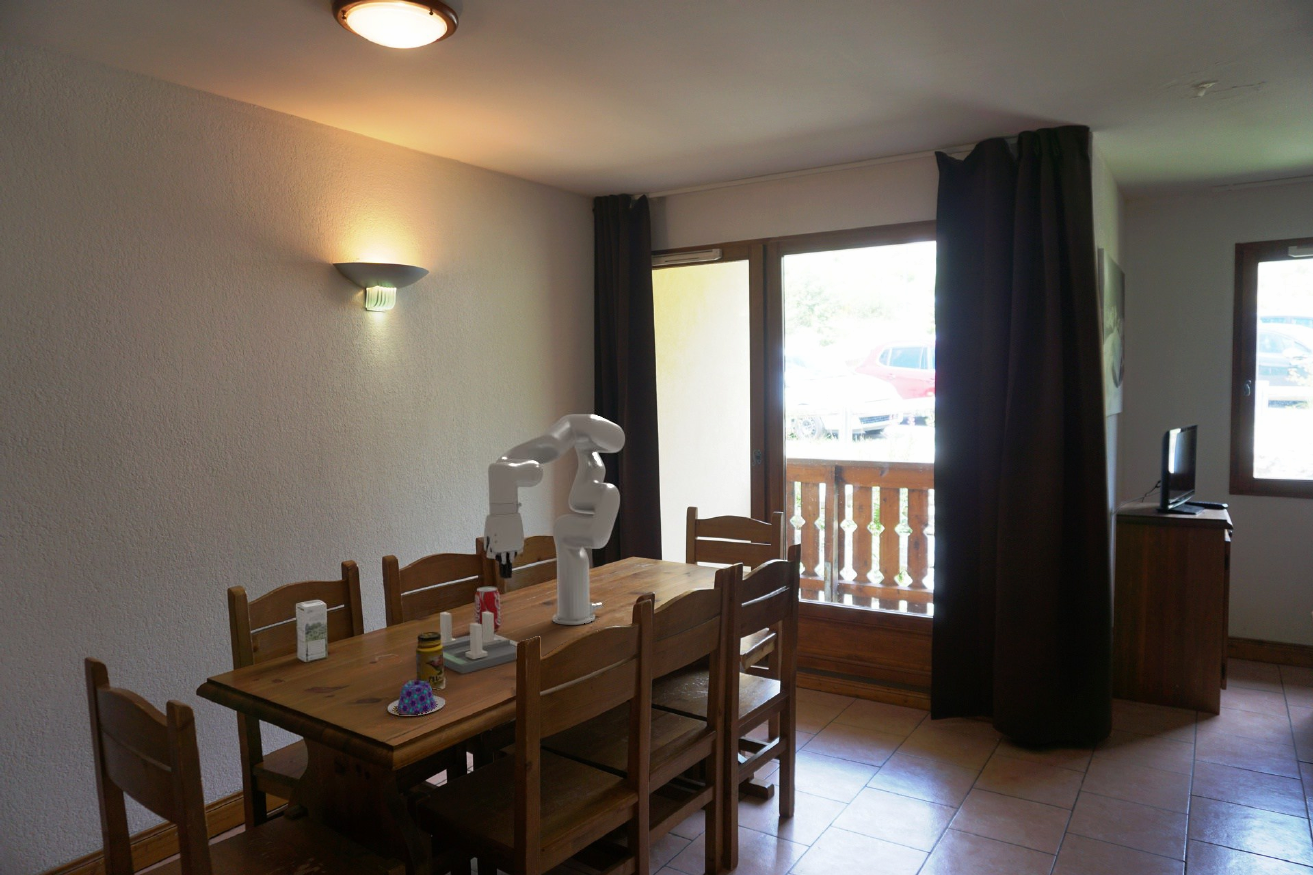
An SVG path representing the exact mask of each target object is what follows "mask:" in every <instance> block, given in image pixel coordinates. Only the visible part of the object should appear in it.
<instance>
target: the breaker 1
mask: <svg viewBox="0 0 1313 875" xmlns="http://www.w3.org/2000/svg"><path fill="white" fill-rule="evenodd" d="M439 620H440V623H439V624H440V626H439V627H440V634H441V644H442V645H446V644H450V643H454V642H457V640H456V639H455V638H453V628H452V627H453V626H452V624H453V623H452V613H451V612H450V613H449V612H448V611H444V612H440V613H439Z"/></svg>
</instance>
